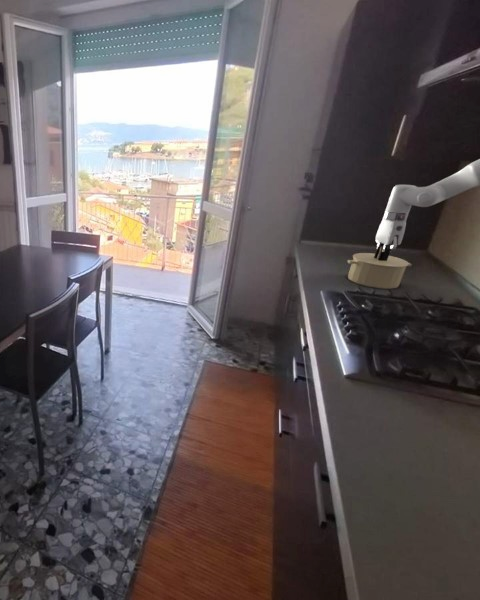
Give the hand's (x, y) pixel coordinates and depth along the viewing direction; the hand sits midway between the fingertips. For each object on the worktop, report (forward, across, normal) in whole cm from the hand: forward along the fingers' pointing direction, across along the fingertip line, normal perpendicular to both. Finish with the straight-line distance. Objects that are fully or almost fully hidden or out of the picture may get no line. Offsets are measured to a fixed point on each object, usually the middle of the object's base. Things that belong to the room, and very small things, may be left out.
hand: (380, 258), depth 153 cm
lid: (+1, 0, 0) cm, 1 cm away
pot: (+10, 0, 0) cm, 10 cm away
